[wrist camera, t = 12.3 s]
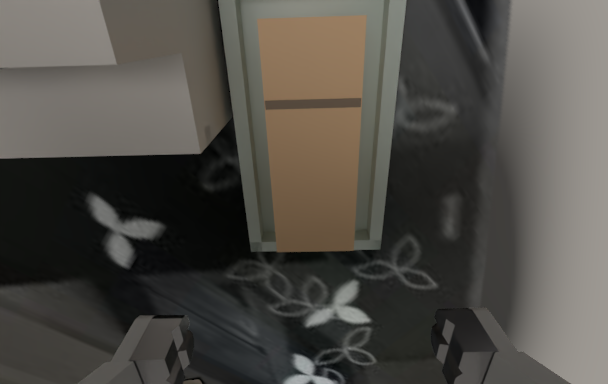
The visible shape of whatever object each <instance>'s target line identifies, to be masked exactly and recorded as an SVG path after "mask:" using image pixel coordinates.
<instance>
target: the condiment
mask: <svg viewBox="0 0 608 384" xmlns="http://www.w3.org/2000/svg"><path fill="white" fill-rule="evenodd" d="M183 384H202V383H201V381H200V380H199V379H197V380H187V381H184V382H183Z"/></svg>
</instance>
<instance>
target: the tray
mask: <svg viewBox="0 0 608 384" xmlns="http://www.w3.org/2000/svg"><path fill="white" fill-rule="evenodd" d="M218 3H219V11H220V19H221V26H222V34H223V41H224V49H225V57H226V64H227V72H228V80H229V87H230V95H231V103H232V110H233V118H234V125H235V133H236V141H237V148H238V156H239V164H240V171H241V179H242V186H243V194H244V202H245V209H246V217H247V225H248V232H249V240H250V247H251V252H264V251H277V247H276V235H275V224H274V212H273V200H272V189H271V177H270V165H269V153H268V142H267V130H266V118H265V106H264V95H263V83H262V71H261V60H260V48H259V36H258V24H257V19H264V18H295V17H325V16H355V15H367V20H366V38H365V56H364V74H363V92H362V110H361V128H360V147H359V165H358V183H357V201H356V219H355V237H354V250H378V249H380V248H381V238H382V229H383V219H384V210H385V200H386V191H387V181H388V171H389V162H390V152H391V143H392V133H393V124H394V114H395V105H396V95H397V85H398V76H399V66H400V57H401V47H402V38H403V28H404V19H405V9H406V0H218Z"/></svg>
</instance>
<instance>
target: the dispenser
mask: <svg viewBox="0 0 608 384" xmlns="http://www.w3.org/2000/svg"><path fill="white" fill-rule="evenodd" d="M231 118H232V111H231V103H230V96H229V88H228V81H227V73H226V66H225V58H224V51H223V43H222V35H221V28H220V20H219V13H218V5H217V0H0V158H42V157H84V156H127V155H169V154H201V153H202V152H203V151H204V149H205V148H206V147H207V146H208V145H209V144H210V142H211V141H212V140H213V139H214V138H215V137H216V135H217V134H218V133H219V132H220V131H221V130H222V128H223V127H224V126H225V125H226V124H227V123H228V122H229V120H230V119H231Z"/></svg>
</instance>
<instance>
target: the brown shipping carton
mask: <svg viewBox="0 0 608 384" xmlns="http://www.w3.org/2000/svg"><path fill="white" fill-rule="evenodd" d="M366 20H367V15H355V16H325V17H295V18H264V19H257V24H258V36H259V48H260V60H261V71H262V83H263V95H264V106H265V118H266V130H267V142H268V153H269V165H270V177H271V189H272V200H273V212H274V224H275V235H276V247H277V252H314V251H354V237H355V219H356V201H357V183H358V165H359V147H360V128H361V110H362V92H363V74H364V56H365V38H366Z"/></svg>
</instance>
